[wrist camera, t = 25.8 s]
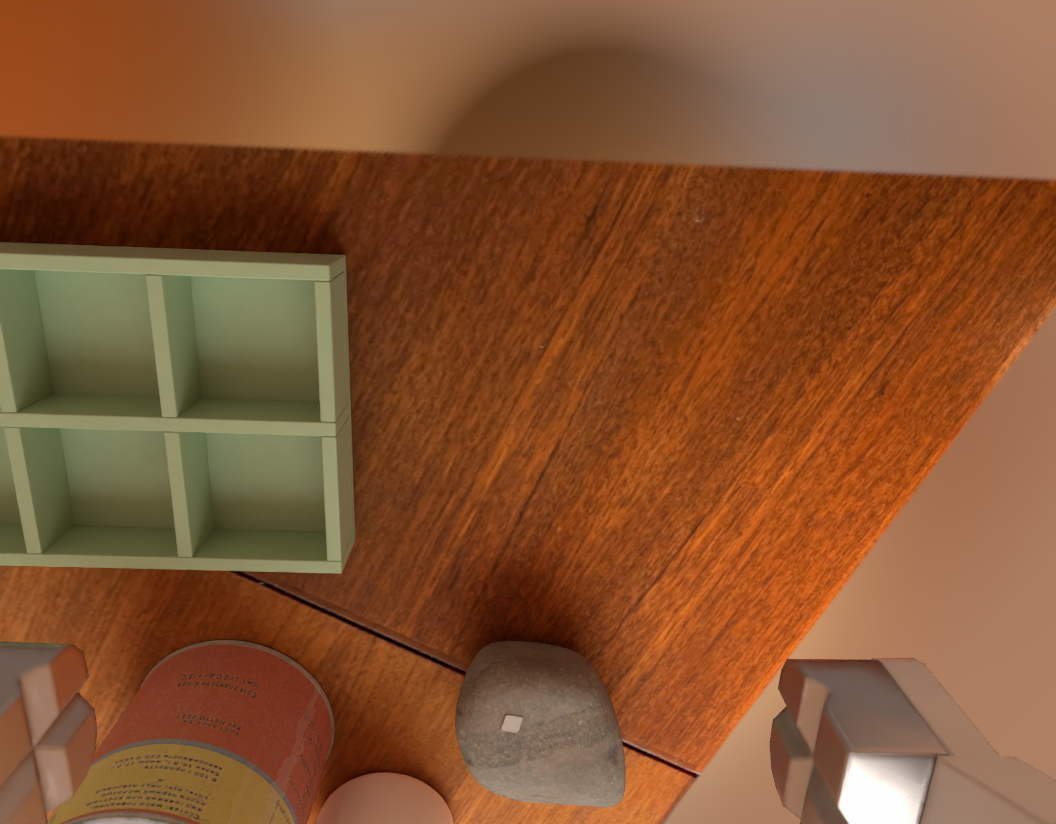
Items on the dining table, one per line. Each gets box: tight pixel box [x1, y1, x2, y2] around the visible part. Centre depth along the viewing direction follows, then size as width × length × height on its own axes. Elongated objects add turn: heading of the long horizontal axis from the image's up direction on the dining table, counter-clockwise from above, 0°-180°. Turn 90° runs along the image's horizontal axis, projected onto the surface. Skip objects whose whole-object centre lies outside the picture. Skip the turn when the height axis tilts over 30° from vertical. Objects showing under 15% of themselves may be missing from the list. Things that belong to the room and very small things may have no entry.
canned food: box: [48, 640, 335, 824], centre depth 39 cm, size 11×11×12 cm
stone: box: [455, 641, 625, 808], centre depth 42 cm, size 9×9×10 cm
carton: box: [0, 242, 355, 573], centre depth 36 cm, size 15×22×4 cm
